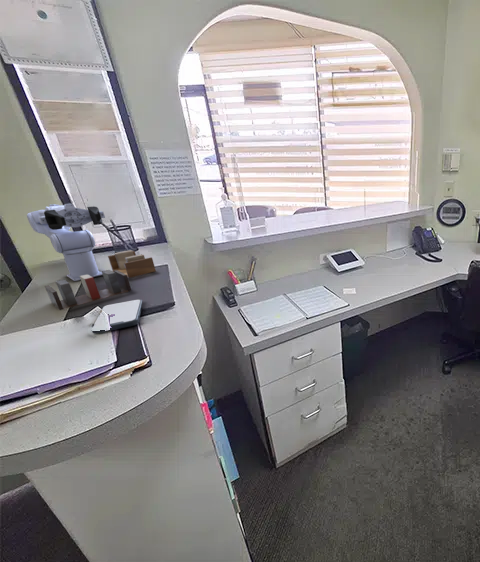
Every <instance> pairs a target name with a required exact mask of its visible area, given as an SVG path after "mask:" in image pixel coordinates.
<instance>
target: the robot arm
mask: <svg viewBox="0 0 480 562" xmlns="http://www.w3.org/2000/svg"><path fill="white" fill-rule="evenodd" d="M86 208H87V209H84V208H80V207H75V205H74V204H73V203H64V204H63V205H60V204H57V203H53V204H52V203H51V204H48V206H45V209H39V210H34V211H30V212H28V213H26V218H27V221H28V223H29V226H30V228H31V229H32V230H33V231H34V232H35V233H37V234H41V235H45V236H46V237H47V238H48V239H49V240H50V243H51V245H52V247H53V249H54V250H55V252H56V253H58V254H62V255H63V258H64V262H65V264H66V267H67V270H68V272H69V273H68V274H66V277H68V278H69V279H71V280H72V281H73V282H78V281H81V279H80V276H82V275H87V274H88V275H90V276H91V277H93V278H95V277H101V276H103V274H102V271H101V270H99V268H98V264H97V262H96V259H95V256H94V252H93V250H94V248H95V247H96V240H95V237H94V235H93V233H92V231H90V230H89V229H84V230H77V231H72V230H71V228H80V227H83V226H85V225H87V224H89V223H91V222H92V224H93V226H99V225H102V224H103V223H104V222H103V219H106V216H105V213H104V211H102V210H100V209H99V208H98V207H97V206H94V205H93V206H87V207H86Z"/></svg>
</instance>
